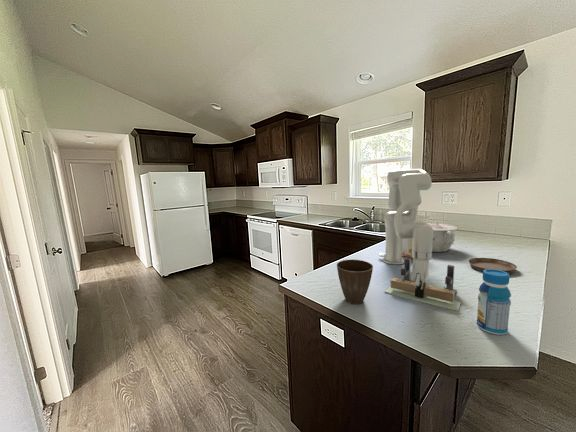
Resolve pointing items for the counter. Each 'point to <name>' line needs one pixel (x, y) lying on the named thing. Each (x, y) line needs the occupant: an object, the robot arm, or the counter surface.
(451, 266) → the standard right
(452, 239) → the chamber pot
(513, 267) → the plant saucer
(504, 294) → the beverage bottle
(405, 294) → the board
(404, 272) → the bracket
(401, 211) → the robot arm
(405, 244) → the cracker box
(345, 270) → the plant pot
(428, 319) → the counter surface
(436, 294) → the rail
